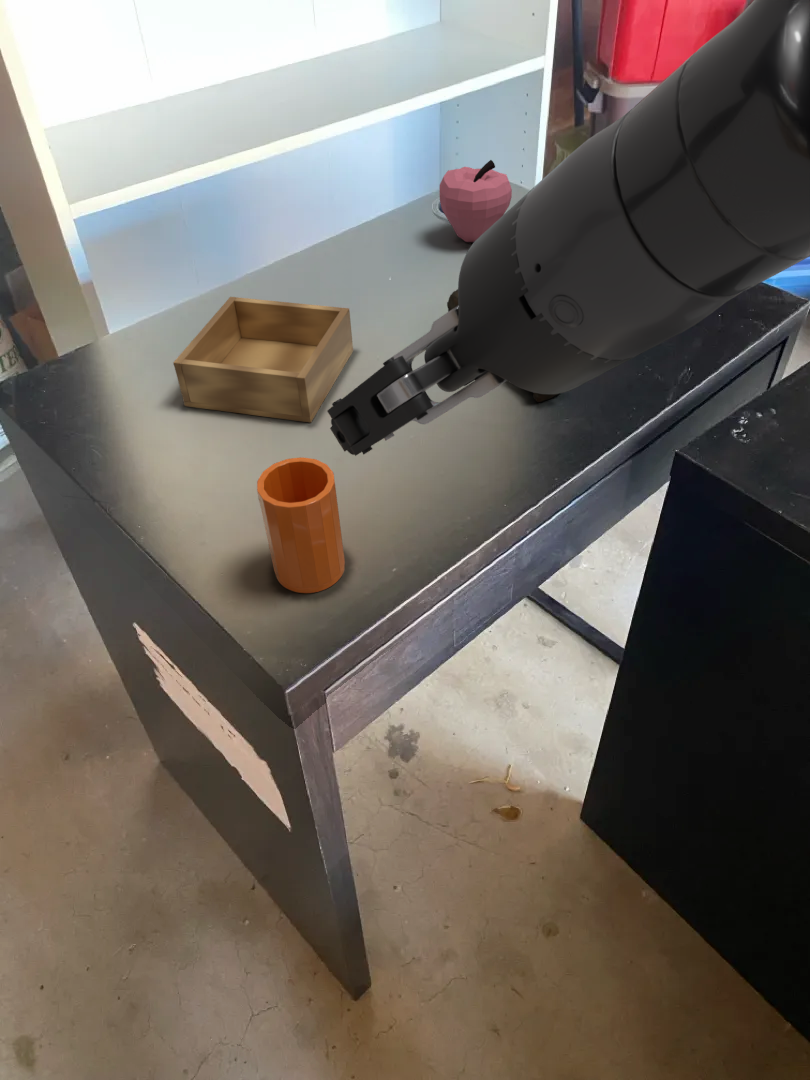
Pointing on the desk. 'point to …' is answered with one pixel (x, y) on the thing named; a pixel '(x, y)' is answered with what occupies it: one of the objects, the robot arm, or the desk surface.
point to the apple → (474, 199)
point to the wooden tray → (266, 358)
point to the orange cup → (302, 524)
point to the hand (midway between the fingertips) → (402, 401)
